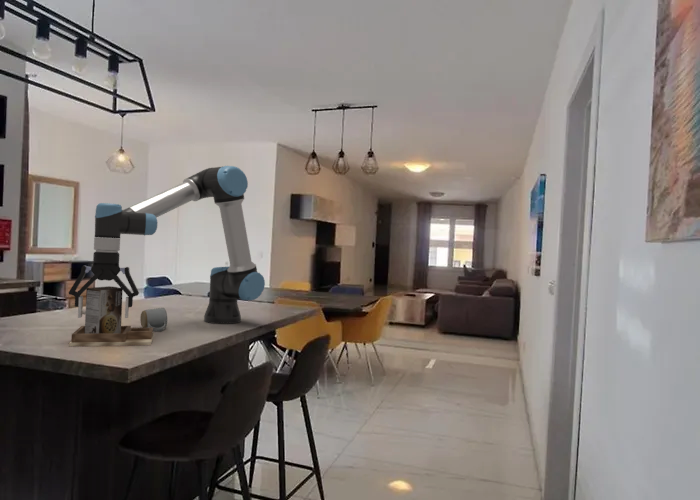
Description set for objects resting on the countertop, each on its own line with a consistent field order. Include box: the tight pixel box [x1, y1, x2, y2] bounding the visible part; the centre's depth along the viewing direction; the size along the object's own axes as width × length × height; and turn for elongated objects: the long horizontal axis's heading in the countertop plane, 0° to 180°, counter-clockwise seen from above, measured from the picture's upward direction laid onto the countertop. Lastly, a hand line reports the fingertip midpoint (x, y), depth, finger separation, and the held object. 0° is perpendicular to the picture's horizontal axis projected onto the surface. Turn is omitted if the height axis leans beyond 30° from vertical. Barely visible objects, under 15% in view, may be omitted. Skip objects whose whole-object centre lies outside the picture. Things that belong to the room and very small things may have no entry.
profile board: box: [68, 325, 155, 347], centre depth 162 cm, size 23×17×4 cm
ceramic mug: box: [139, 307, 168, 332], centre depth 186 cm, size 11×8×8 cm
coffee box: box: [84, 285, 123, 334], centre depth 161 cm, size 9×6×16 cm
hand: (103, 317), depth 161 cm, fingers open, 13 cm apart
